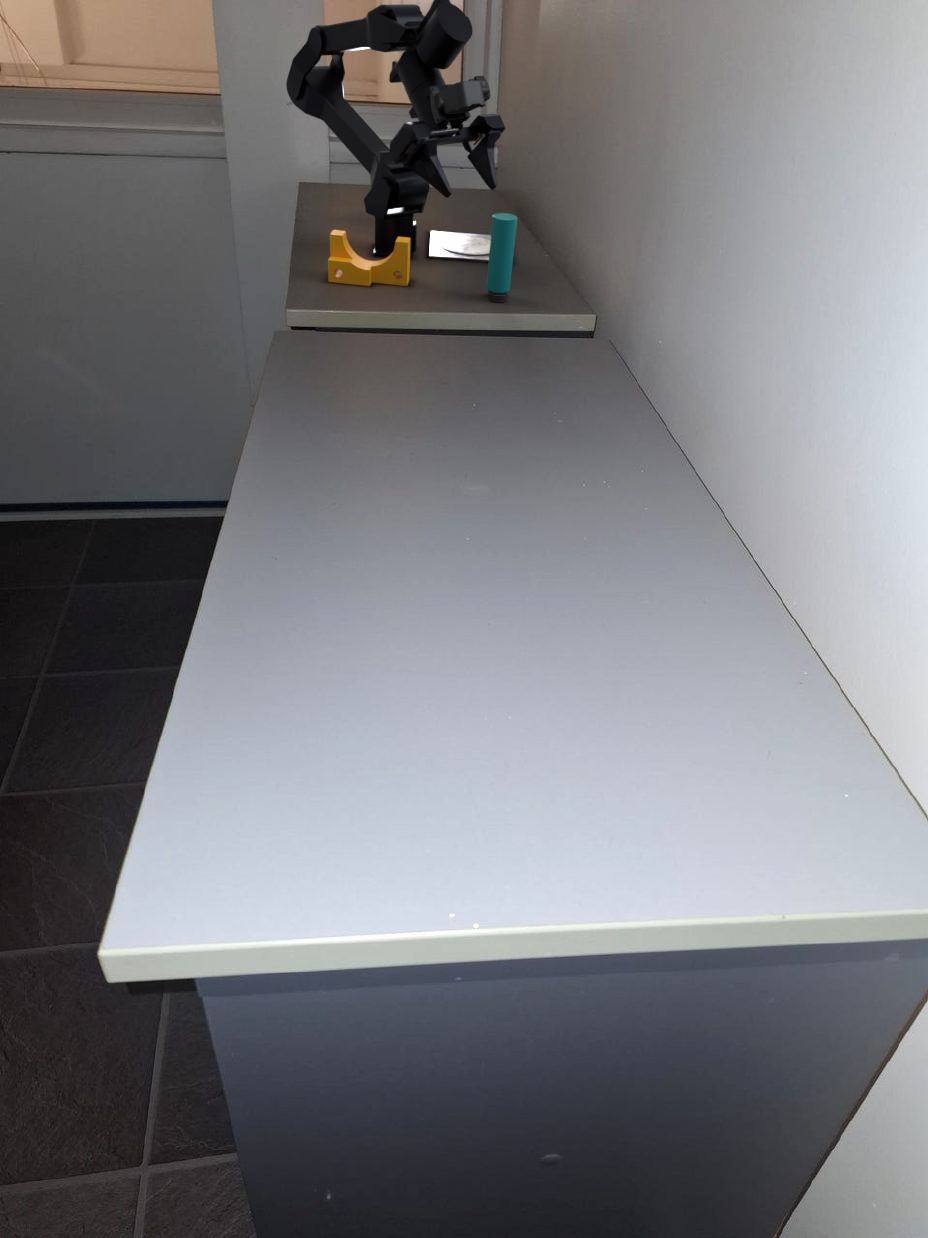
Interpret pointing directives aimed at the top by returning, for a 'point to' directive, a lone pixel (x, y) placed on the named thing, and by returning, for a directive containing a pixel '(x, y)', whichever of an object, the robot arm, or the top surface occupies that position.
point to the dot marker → (501, 256)
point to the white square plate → (459, 246)
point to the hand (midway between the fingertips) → (472, 191)
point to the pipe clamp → (367, 263)
